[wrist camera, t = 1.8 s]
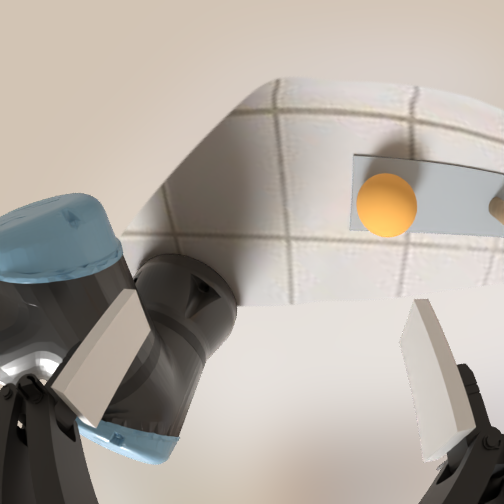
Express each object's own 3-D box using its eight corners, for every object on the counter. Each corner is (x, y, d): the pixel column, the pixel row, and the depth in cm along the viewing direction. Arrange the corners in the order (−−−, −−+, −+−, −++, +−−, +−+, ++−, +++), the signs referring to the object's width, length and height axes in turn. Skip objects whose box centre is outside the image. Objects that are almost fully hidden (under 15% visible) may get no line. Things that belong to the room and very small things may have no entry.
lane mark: (349, 229, 29) (350, 230, 29) (353, 155, 25) (353, 155, 25) (528, 238, 24) (529, 239, 24) (540, 183, 20) (541, 184, 20)
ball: (350, 220, 29) (359, 248, 24) (353, 165, 26) (365, 181, 21) (402, 222, 28) (420, 249, 22) (408, 169, 25) (430, 186, 20)
